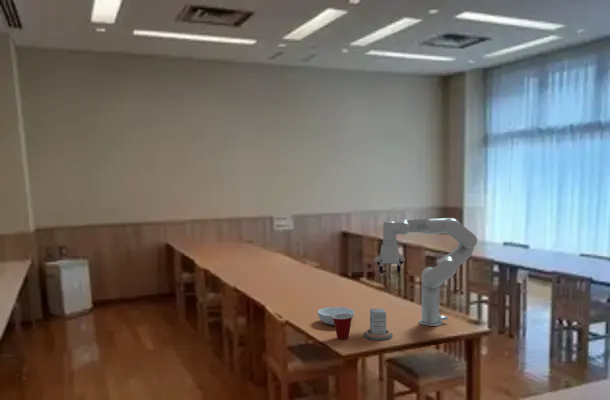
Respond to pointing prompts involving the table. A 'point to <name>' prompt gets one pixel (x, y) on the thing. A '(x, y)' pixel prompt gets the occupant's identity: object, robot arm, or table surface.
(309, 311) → the table surface
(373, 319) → the supplement box
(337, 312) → the serving bowl
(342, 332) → the plastic cup
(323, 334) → the table surface
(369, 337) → the ring tray
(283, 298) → the table surface
